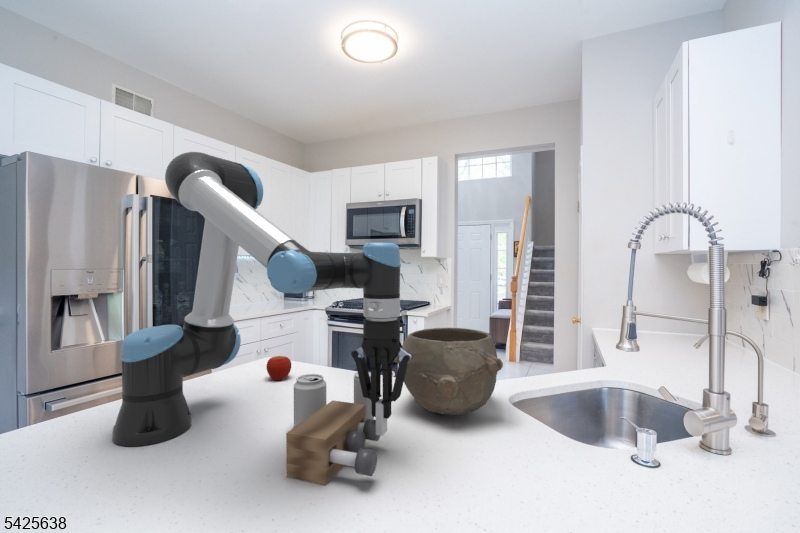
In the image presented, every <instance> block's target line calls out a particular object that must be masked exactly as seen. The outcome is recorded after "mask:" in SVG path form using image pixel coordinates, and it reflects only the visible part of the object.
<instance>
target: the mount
mask: <svg viewBox="0 0 800 533" xmlns="http://www.w3.org/2000/svg"><path fill="white" fill-rule="evenodd" d="M359 422H362V423H365V422H366V405H364V404H356V403H354V402H348V401H347V402H346V401H340V400H333V399H332V400H331V401H329V402H328V403H326V405H325V406H324V407H322V408H321V409H320V410H318V411H317V412H315V413H314V414H313V415H311V416H310V417H308V418H307V419H305V420H304V421H303V422H301V423H300V424H298V425H297V426H296V427H294V426H293V427H292V428H291V429H289V431H286V434H285V435H286V436H285V437H286V438H285V439H286V441H285V442H286V444H285V445H286V448H285V449H286V457H285V458H286V463H285V464H286V478H289V479H295V480H299V481H304V482H308V483H311V484H313V483H314V484H317V485H323V486H326V485H328V484H329V482H330V481H331V480H332V479H333V478H334V477H335V476H336V475H337V474H338V473H339V472H340V471H341V469H342V468H343V467H344V466H345V465H342V464H337V463H332V462H329V450H330V449H331V448H332V449H337V450H343V451H345V447H344V436H345V435H346V434H347V433H348V432H349V430H355V431H358V423H359ZM366 441H367V440H366V439H365V443H366Z"/></svg>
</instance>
